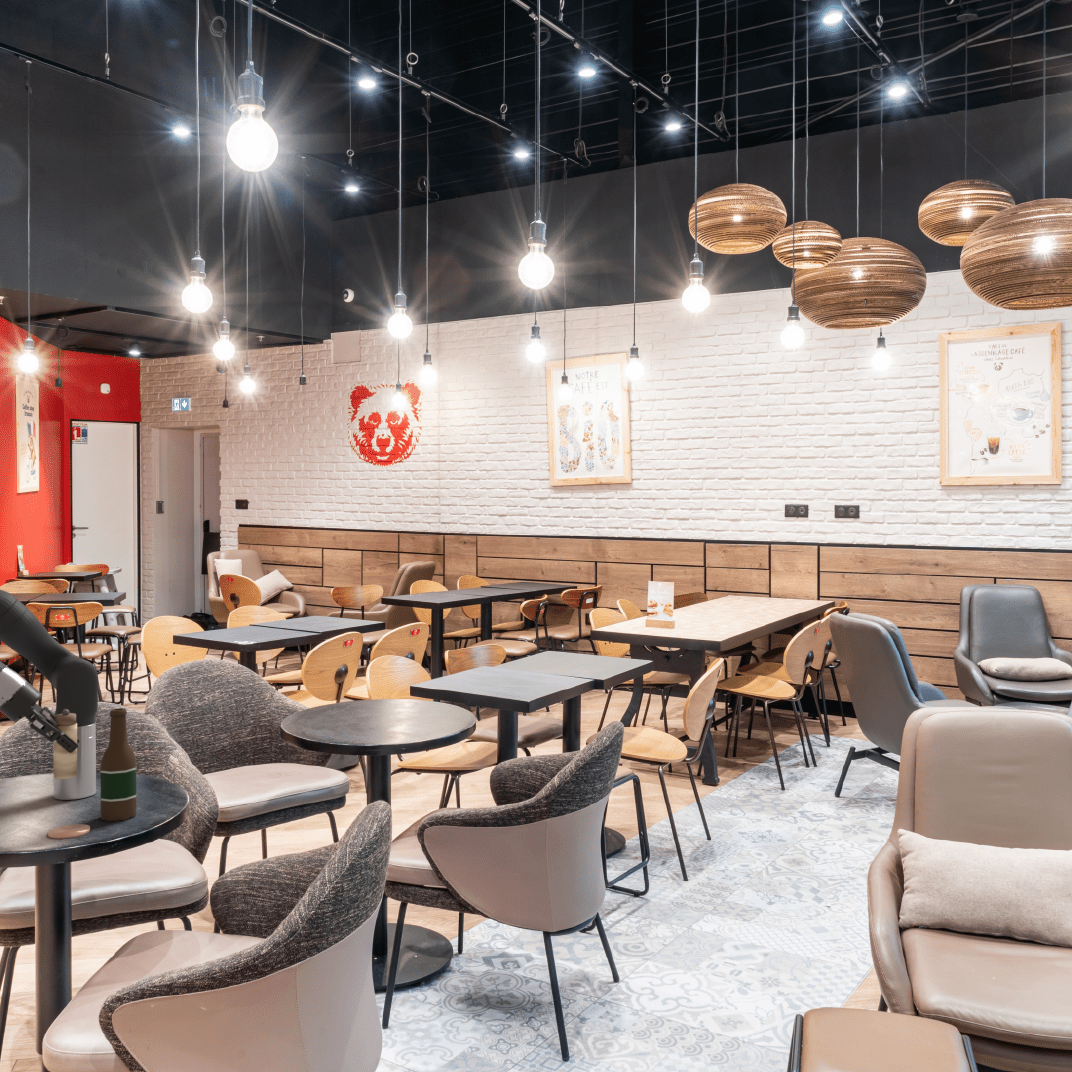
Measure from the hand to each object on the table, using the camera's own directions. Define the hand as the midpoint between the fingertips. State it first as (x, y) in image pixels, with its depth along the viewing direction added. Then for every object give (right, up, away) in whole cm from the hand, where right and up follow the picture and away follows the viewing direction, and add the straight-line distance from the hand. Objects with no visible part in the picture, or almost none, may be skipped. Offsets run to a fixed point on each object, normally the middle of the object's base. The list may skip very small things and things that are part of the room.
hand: (75, 746), depth 201 cm
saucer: (-1, -18, -1) cm, 18 cm away
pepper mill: (-2, -6, -1) cm, 6 cm away
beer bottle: (+5, -18, +11) cm, 22 cm away
